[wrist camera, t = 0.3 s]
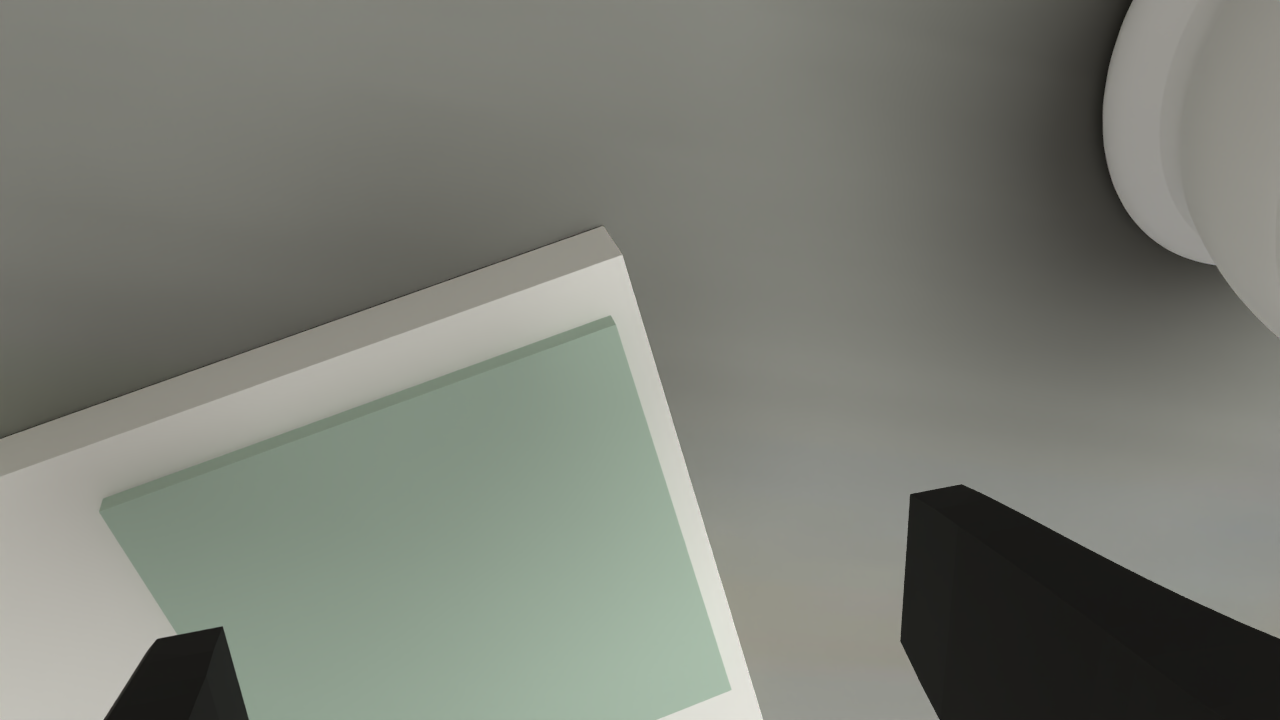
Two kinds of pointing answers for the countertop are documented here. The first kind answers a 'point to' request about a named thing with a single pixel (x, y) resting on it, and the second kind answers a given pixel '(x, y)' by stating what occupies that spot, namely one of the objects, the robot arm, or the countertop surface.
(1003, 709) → the robot arm
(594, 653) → the pad
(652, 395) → the mount board
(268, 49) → the countertop surface
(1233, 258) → the jar
